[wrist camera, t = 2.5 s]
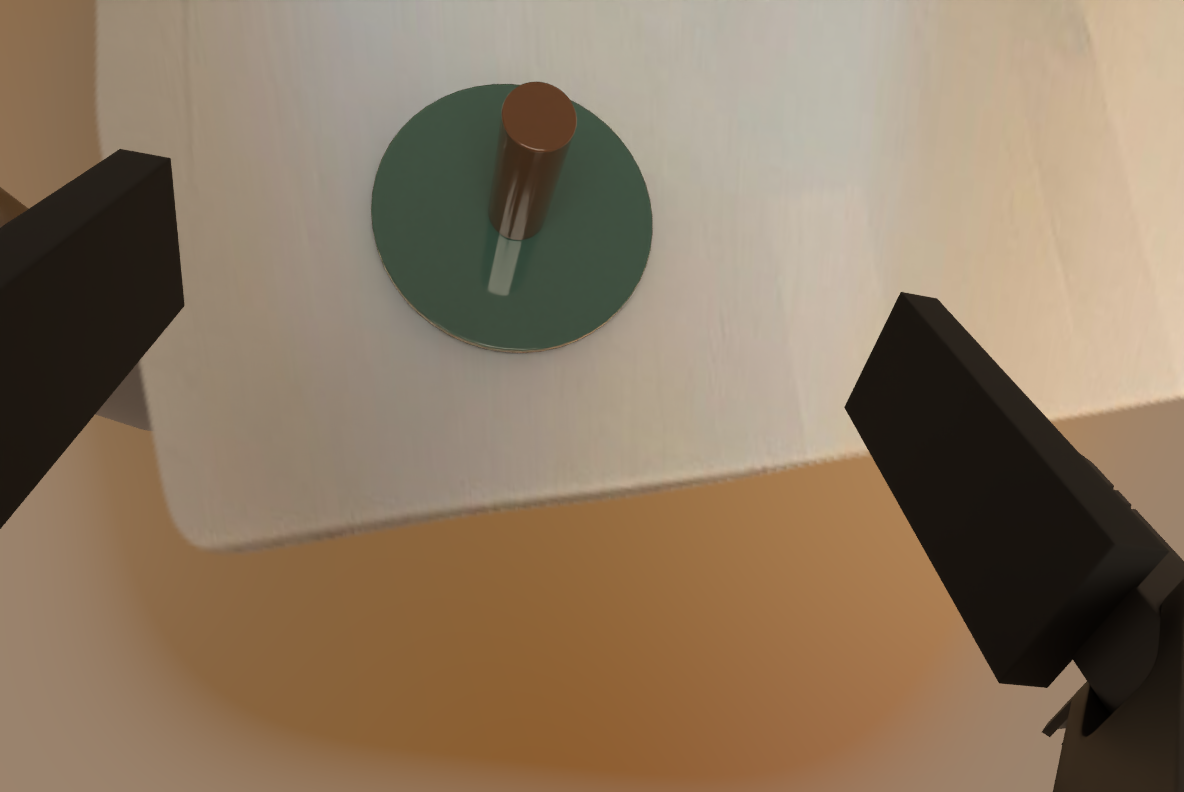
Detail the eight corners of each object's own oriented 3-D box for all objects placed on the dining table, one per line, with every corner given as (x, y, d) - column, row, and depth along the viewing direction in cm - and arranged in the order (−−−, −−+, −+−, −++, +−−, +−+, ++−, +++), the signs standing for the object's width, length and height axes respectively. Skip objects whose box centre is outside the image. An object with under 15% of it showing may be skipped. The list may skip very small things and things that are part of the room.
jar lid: (340, 317, 35) (301, 236, 26) (412, 63, 38) (401, -97, 28) (619, 384, 37) (681, 334, 28) (668, 139, 40) (740, 13, 30)
